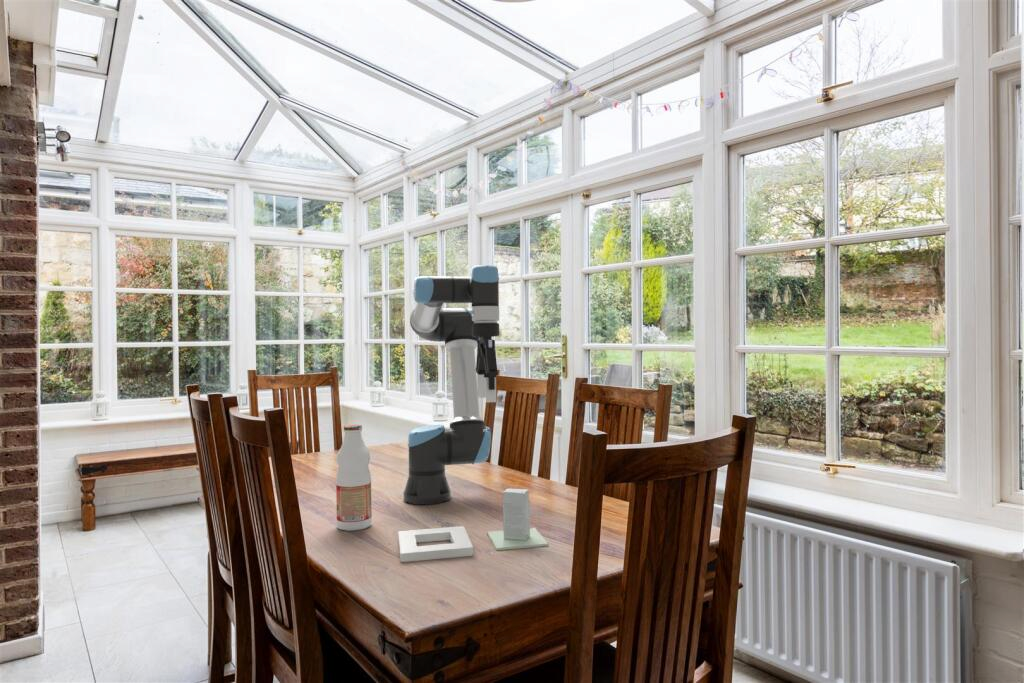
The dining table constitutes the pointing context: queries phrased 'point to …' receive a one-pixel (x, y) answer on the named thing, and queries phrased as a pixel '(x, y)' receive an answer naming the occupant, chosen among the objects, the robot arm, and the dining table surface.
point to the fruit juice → (353, 482)
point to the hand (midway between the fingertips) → (486, 399)
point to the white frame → (416, 553)
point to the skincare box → (516, 514)
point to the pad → (506, 544)
